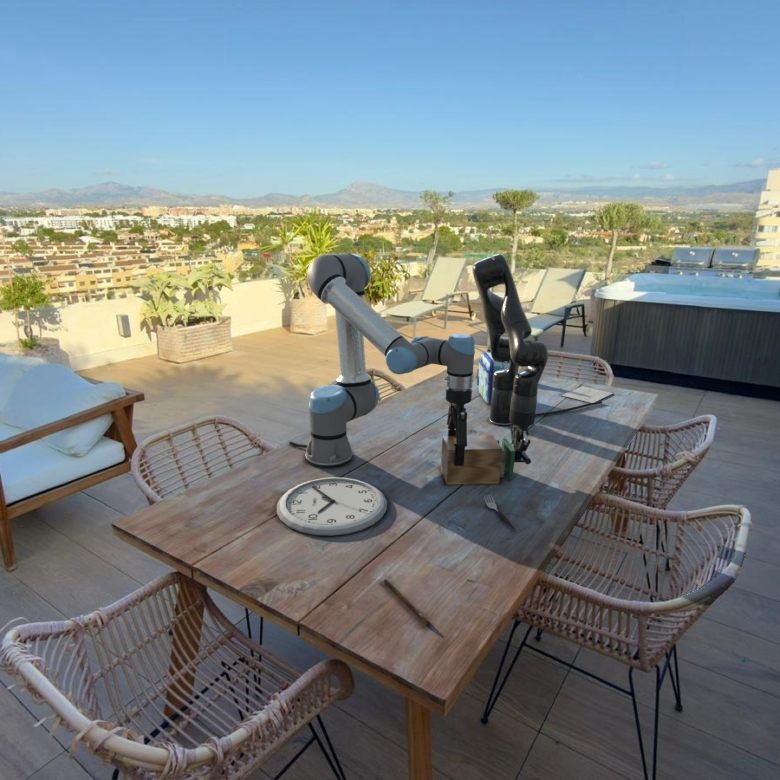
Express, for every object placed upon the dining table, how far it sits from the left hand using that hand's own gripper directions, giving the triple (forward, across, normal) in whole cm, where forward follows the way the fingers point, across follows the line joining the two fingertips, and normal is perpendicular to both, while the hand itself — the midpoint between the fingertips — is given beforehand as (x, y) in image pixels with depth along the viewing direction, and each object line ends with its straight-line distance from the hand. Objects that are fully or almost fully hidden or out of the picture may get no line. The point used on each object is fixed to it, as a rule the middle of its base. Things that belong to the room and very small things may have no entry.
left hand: (455, 457), depth 159 cm
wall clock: (+6, +16, -37) cm, 41 cm away
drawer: (+5, 0, +12) cm, 13 cm away
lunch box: (+7, -74, +31) cm, 81 cm away
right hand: (+2, 0, +19) cm, 19 cm away
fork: (+6, +23, +8) cm, 25 cm away
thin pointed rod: (+6, +56, -21) cm, 60 cm away
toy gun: (+7, -113, +39) cm, 120 cm away
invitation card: (+7, -79, +78) cm, 111 cm away
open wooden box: (+6, 0, +5) cm, 8 cm away
